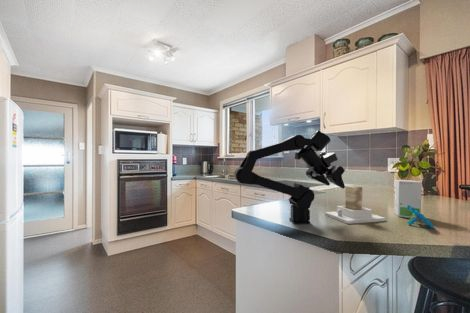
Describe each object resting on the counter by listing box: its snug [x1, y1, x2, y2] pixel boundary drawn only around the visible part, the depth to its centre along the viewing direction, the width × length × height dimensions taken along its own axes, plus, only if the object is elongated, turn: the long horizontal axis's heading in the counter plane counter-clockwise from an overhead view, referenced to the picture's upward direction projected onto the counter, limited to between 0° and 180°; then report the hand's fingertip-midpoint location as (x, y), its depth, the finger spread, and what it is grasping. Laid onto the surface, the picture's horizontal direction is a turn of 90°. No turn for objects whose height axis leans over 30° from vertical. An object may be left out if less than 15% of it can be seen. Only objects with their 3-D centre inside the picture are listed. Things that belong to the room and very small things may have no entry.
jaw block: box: [344, 185, 363, 210], centre depth 96 cm, size 4×4×12 cm
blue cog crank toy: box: [406, 205, 435, 229], centre depth 85 cm, size 11×6×10 cm
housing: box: [324, 205, 387, 225], centre depth 96 cm, size 18×14×4 cm
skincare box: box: [393, 179, 422, 219], centre depth 99 cm, size 8×7×16 cm
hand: (336, 186), depth 93 cm, fingers open, 9 cm apart
